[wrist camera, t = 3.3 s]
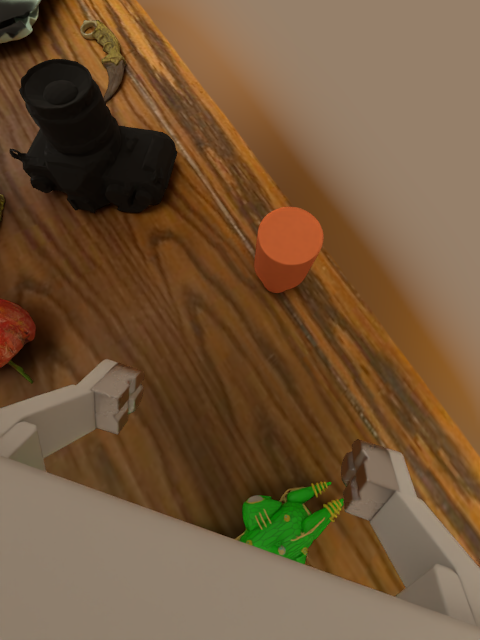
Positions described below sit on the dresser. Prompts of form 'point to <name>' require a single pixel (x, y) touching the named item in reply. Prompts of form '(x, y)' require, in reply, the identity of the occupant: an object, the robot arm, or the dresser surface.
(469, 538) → the dresser surface
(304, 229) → the disc
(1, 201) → the figurine
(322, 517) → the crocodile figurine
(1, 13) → the cloth
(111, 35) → the knife
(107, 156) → the film camera
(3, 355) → the pomegranate
